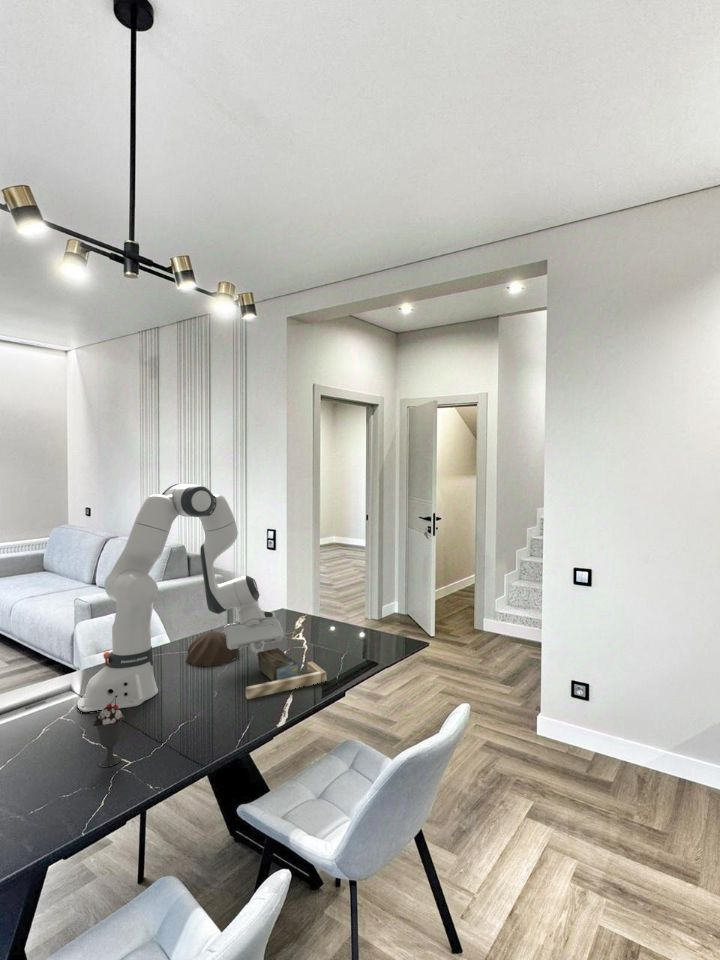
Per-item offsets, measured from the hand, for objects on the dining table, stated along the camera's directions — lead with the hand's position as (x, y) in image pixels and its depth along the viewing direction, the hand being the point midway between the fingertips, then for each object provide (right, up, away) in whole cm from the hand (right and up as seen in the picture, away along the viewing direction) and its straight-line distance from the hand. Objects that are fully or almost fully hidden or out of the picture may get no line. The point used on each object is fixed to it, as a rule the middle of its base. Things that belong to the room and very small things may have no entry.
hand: (259, 654), depth 183 cm
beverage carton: (+8, -5, -7) cm, 12 cm away
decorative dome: (-20, -6, +14) cm, 25 cm away
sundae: (-24, -6, -60) cm, 64 cm away
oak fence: (+10, -4, -15) cm, 18 cm away
